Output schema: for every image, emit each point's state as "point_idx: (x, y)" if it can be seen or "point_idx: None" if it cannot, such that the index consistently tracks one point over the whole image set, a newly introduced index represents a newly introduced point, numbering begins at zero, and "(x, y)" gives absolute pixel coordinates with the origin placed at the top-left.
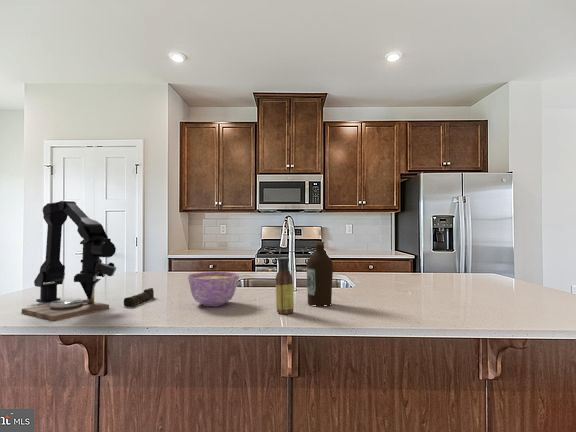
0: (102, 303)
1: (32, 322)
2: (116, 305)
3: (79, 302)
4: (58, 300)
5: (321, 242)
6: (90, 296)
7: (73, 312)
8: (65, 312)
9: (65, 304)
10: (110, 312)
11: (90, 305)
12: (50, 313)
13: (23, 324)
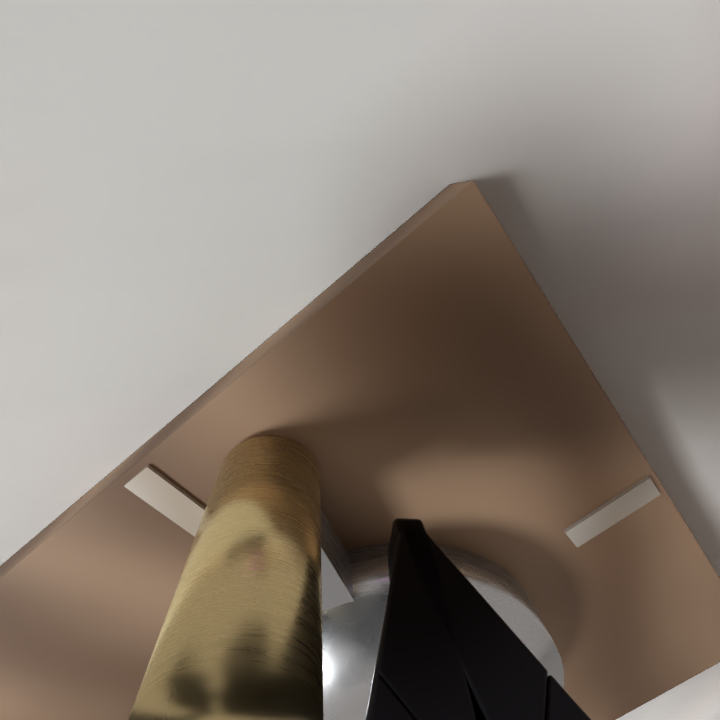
0: (331, 307)
1: (680, 687)
2: (219, 66)
3: (490, 597)
4: None
5: None
6: (438, 558)
7: (689, 535)
8: (678, 594)
9: None
10: (711, 138)
11: (426, 448)
12: (643, 679)
13: (701, 708)
